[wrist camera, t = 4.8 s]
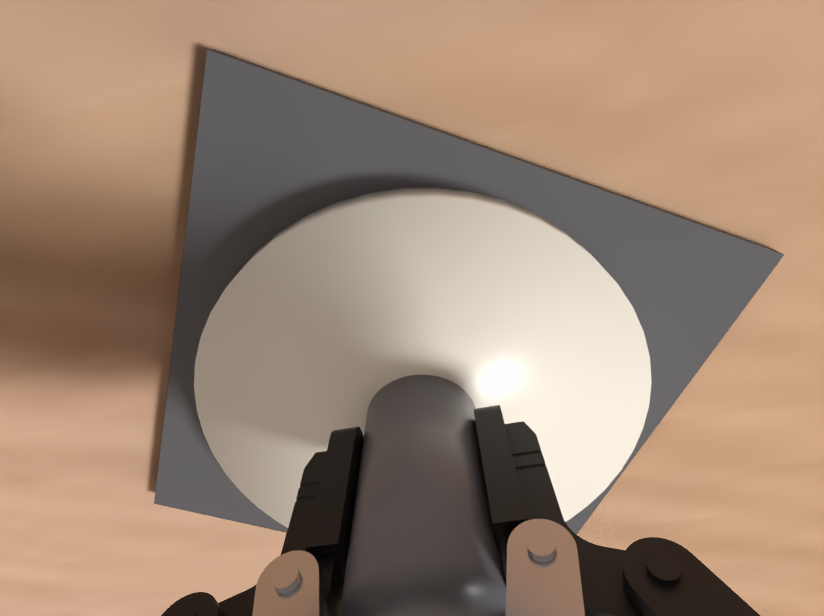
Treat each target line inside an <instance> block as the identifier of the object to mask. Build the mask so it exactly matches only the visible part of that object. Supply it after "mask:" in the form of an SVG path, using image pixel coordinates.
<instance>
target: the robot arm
mask: <svg viewBox="0 0 824 616" xmlns="http://www.w3.org/2000/svg"><path fill="white" fill-rule="evenodd" d="M473 410H474V416H475V422H476V428H477V434H478V440H479V446H480V452H481V458H482V464H483V470H484V476H485V482H486V488H487V494H488V500H489V506H490V512H491V518H492V524H493V529H494V534H495V540H496V545H497V547H498V549H499V551H500V553H501V557H502V561H503V567H504V572H505V578H506V616H760V615H759V614H758V613H757V612H756V611H755V610H753V609H752V608H751V607H750V606H749V605H748V604H747V603H746V602H745V601H743V600H742V599H741V598H740V597H739V596H738V595H737V594H736V593H735V592H734V591H732V590H731V589H730V588H729V587H728V586H727V585H726V584H725V583H724V582H723V581H721V580H720V579H719V578H718V577H717V576H716V575H715V574H714V573H713V572H712V571H710V570H709V569H708V568H707V567H706V566H705V565H704V564H703V563H702V562H701V561H699V560H698V559H697V558H696V557H695V556H694V555H693V554H692V553H690V552H689V551H688V550H687V549H685V548H684V547H682V546H681V545H679V544H677V543H675V542H673V541H670V540H667V539H662V538H654V537H650V538H643V539H639V540H637V541H635V542H633V543H632V544H631V545H630V546H629V547H628V548H627V549H626V551H625V550H619V549H614V548H608V547H602V546H598V545H595V544H592V543H589V542H587V541H585V540H583V539H582V538H580V537H579V536H577V535H576V534H575V533H574V532H573V531H572V530H571V529H570V528H569V527H568V526H567V524H566V522H565V521H564V518H563V516H562V513H561V510H560V507H559V504H558V501H557V498H556V494H555V491H554V488H553V485H552V482H551V479H550V476H549V473H548V470H547V467H546V464H545V460H544V457H543V454H542V452H541V448H540V445H539V442H538V439H537V436H536V434H535V433H534V431H533V430H532V429H531V428H530V427H529V426H528V425H527V424H526V423H525V422H524V421H522V422H515V423H509V424H505V423H504V419H503V415H502V411H501V407H500V405H495V406H489V407H482V408H476V409H473ZM363 439H364V436H363V433H362V431H361V429H360V427H353V428H346V429H340V430H333V431H332V432H331V435H330V439H329V444H328V448H327V451H323V452H316V453H315V454H314V455H313V457H312V458H311V460H310V461H309V462H308V464H307V465H306V467H305V468H304V471H303V475H302V479H301V482H300V488H299V490H298V493H297V497H296V500H297V501H296V502H295V505H294V508H293V512H292V516H291V519H290V523H289V527H288V530H287V534H286V538H285V541H284V545H283V549H282V552H281V555H280V556H279V557H277V558H276V559H274V560H273V561H272V562H271V563H270V564H269V565H268V566H267V567H266V568H265V569H264V571H263V572H262V574H261V575H260V577H259V579H258V582H257V585H255V586H254V587H252V588H250V589H248V590H246V591H244V592H242V593H240V594H237V595H235V596H233V597H231V598H229V599H226V600H224V601H222V602H220V603H217V601H216V600H215V598H214V597H213V596H212V595H210V594H208V593H205V592H197V593H192V594H189V595H187V596H185V597H183V598H181V599H179V600H178V601H176V602H175V603H174V604H172V605H171V606H170V607H169V608H168V609H167V610H166V611H165V612H164V613H163V614H162V615H161V616H341V615H340V608H341V600H342V593H343V585H344V578H345V571H346V563H347V556H348V549H349V541H350V534H351V527H352V519H353V512H354V505H355V497H356V490H357V483H358V475H359V468H360V461H361V453H362V446H363Z"/></svg>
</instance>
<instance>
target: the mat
mask: <svg viewBox="0 0 824 616" xmlns="http://www.w3.org/2000/svg"><path fill="white" fill-rule="evenodd" d="M399 188H445V189H453V190H462V191H471V192H474V193H478V194H482V195H486V196H490V197H494V198H498V199H502V200H505V201H507V202H510V203H512V204H515V205H517V206H520V207H522V208H525V209H527V210H529V211H532V212H534V213H536V214H538V215H539V216H541V217H543V218H544V219H546V220H548V221H550V222H551V223H553V224H555V225H556V226H558V227H560V228H561V229H563V230H564V231H565V232H566V233H568V234H569V235H570V236H571V237H572V238H574V239H575V240H576V241H577V242H579V243H580V244H581V245H582V246H584V247H585V248H586V249H587V251H588V252H589V253H590V254H591V255H592V256H593V257H594V258H595V259H596V260H597V261H598V263H599V264H600V265H601V266H602V267H603V268H604V269H605V270H606V271H607V272H608V273H609V275H610V276H611V277H612V278H613V279H614V280H615V281H616V282H617V283H618V285H619V286H620V288H621V289H622V291H623V293H624V294H625V296H626V297H627V299H628V300H629V302H630V303H631V305H632V306H633V308H634V310H635V313H636V315H637V317H638V320H639V322H640V324H641V327H642V329H643V331H644V335H645V339H646V343H647V347H648V351H649V355H650V365H651V381H652V383H651V393H650V402H649V408H648V412H647V416H646V419H645V423H644V427H643V430H642V432H641V434H640V437H639V439H638V441H637V444H636V446H635V448H634V450H633V452H632V454H631V455H630V457H629V458H628V460H627V462H626V463H625V465H624V466H623V468H622V470H621V471H620V472H619V474H618V475H617V476H616V477H615V478H614V480H613V481H612V482H611V483H610V484H609V486H608V487H607V488H606V489H605V490H604V491H603V492H602V493H601V494H600V495H599V496H598V497H597V498H596V499H595V500H594V501H593V502H591V503H590V504H589V505H588V506H587V507H586V508H584V509H583V510H582V511H580V512H579V513H578V514H576V515H575V516H574V517H572V518H571V519H570V520H568V521H566V524H567V526H568V527H569V528H570V529H571V530H572V531H573V532H574V533H575V534H576V535H577V533H578V532H579V531H580V529H581V528H582V527H583V525H584V524H585V523H586V521H587V520H588V518H589V517H590V516H591V514H592V513H593V512H594V510H595V509H596V508H597V506H598V505H599V504H600V502H601V501H602V500H603V498H604V497H605V496H606V494H607V493H608V491H609V490H610V489H611V487H612V486H613V485H614V483H615V482H616V481H617V479H618V478H619V477H620V475H621V474H622V473H623V471H624V470H625V469H626V467H627V466H628V465H629V463H630V462H631V460H632V459H633V458H634V456H635V455H636V454H637V452H638V451H639V450H640V448H641V447H642V446H643V444H644V443H645V442H646V440H647V439H648V438H649V436H650V435H651V434H652V432H653V431H654V429H655V428H656V427H657V425H658V424H659V423H660V421H661V420H662V419H663V417H664V416H665V415H666V413H667V412H668V411H669V409H670V408H671V407H672V405H673V404H674V403H675V401H676V400H677V398H678V397H679V396H680V394H681V393H682V392H683V390H684V389H685V388H686V386H687V385H688V384H689V382H690V381H691V380H692V378H693V377H694V376H695V374H696V373H697V372H698V370H699V369H700V367H701V366H702V365H703V363H704V362H705V361H706V359H707V358H708V357H709V355H710V354H711V353H712V351H713V350H714V349H715V347H716V346H717V345H718V343H719V342H720V340H721V339H722V338H723V336H724V335H725V334H726V332H727V331H728V330H729V328H730V327H731V326H732V324H733V323H734V322H735V320H736V319H737V318H738V316H739V315H740V314H741V312H742V311H743V309H744V308H745V307H746V305H747V304H748V303H749V301H750V300H751V299H752V297H753V296H754V295H755V293H756V292H757V291H758V289H759V288H760V287H761V285H762V284H763V283H764V281H765V280H766V278H767V277H768V276H769V274H770V273H771V272H772V270H773V269H774V268H775V266H776V265H777V264H778V262H779V261H780V260H781V258H782V257H783V256H784V255H783V254H782V253H780V252H778V251H776V250H774V249H771V248H768V247H766V246H763V245H760V244H757V243H754V242H752V241H749V240H746V239H743V238H740V237H738V236H735V235H732V234H729V233H726V232H724V231H721V230H718V229H715V228H712V227H710V226H707V225H704V224H701V223H698V222H695V221H693V220H690V219H687V218H684V217H681V216H679V215H676V214H673V213H670V212H667V211H665V210H662V209H659V208H656V207H653V206H651V205H648V204H645V203H642V202H639V201H637V200H634V199H631V198H628V197H625V196H623V195H620V194H617V193H614V192H611V191H609V190H606V189H603V188H600V187H597V186H595V185H592V184H589V183H586V182H583V181H581V180H578V179H575V178H572V177H569V176H567V175H564V174H561V173H558V172H555V171H552V170H550V169H547V168H544V167H541V166H538V165H536V164H533V163H530V162H527V161H524V160H522V159H519V158H516V157H513V156H510V155H508V154H505V153H502V152H499V151H496V150H494V149H491V148H488V147H485V146H482V145H480V144H477V143H474V142H471V141H468V140H466V139H463V138H460V137H457V136H454V135H452V134H449V133H446V132H443V131H440V130H438V129H435V128H432V127H429V126H426V125H424V124H421V123H418V122H415V121H412V120H410V119H407V118H404V117H401V116H398V115H395V114H393V113H390V112H387V111H384V110H381V109H379V108H376V107H373V106H370V105H367V104H365V103H362V102H359V101H356V100H353V99H351V98H348V97H345V96H342V95H339V94H337V93H334V92H331V91H328V90H325V89H323V88H320V87H317V86H314V85H311V84H309V83H306V82H303V81H300V80H297V79H295V78H292V77H289V76H286V75H283V74H281V73H278V72H275V71H272V70H269V69H267V68H264V67H261V66H258V65H255V64H253V63H250V62H247V61H244V60H241V59H238V58H236V57H233V56H230V55H227V54H224V53H222V52H219V51H216V50H209V49H207V54H206V63H205V72H204V80H203V89H202V97H201V106H200V114H199V123H198V132H197V140H196V149H195V157H194V166H193V174H192V183H191V192H190V200H189V209H188V217H187V226H186V234H185V243H184V252H183V260H182V269H181V277H180V286H179V294H178V303H177V312H176V320H175V329H174V337H173V346H172V354H171V363H170V372H169V380H168V389H167V397H166V406H165V414H164V423H163V432H162V440H161V449H160V457H159V466H158V474H157V483H156V492H155V500H154V504H159V505H163V506H168V507H172V508H177V509H182V510H186V511H191V512H195V513H200V514H204V515H209V516H213V517H218V518H223V519H227V520H232V521H236V522H241V523H245V524H250V525H254V526H259V527H264V528H268V529H273V530H277V531H282V532H286V533H287V530H288V528H287V527H285V526H284V525H282V524H280V523H279V522H277V521H275V520H274V519H273V518H271V517H270V516H269V515H267V514H266V513H265V512H263V511H262V510H261V509H259V508H258V507H257V506H256V505H255V504H254V503H252V502H251V501H250V500H249V499H248V498H247V497H246V496H245V495H244V494H243V493H242V492H241V491H240V490H239V489H238V488H237V487H236V486H235V484H234V483H233V482H232V481H231V480H230V478H229V477H228V476H227V475H226V474H225V472H224V471H223V469H222V467H221V466H220V464H219V463H218V461H217V460H216V458H215V457H214V455H213V453H212V451H211V449H210V447H209V444H208V442H207V440H206V438H205V436H204V434H203V430H202V427H201V423H200V420H199V416H198V413H197V408H196V400H195V392H194V374H195V360H196V355H197V351H198V346H199V342H200V337H201V335H202V332H203V330H204V327H205V325H206V322H207V320H208V318H209V315H210V313H211V311H212V309H213V308H214V306H215V304H216V303H217V301H218V300H219V298H220V296H221V295H222V293H223V291H224V290H225V288H226V287H227V286H228V285H229V283H230V282H231V281H232V280H233V279H234V277H235V276H236V275H237V274H238V273H239V272H240V270H241V269H242V268H243V267H244V266H245V265H246V263H247V262H248V261H249V260H250V259H251V258H252V257H253V255H254V254H255V253H256V252H257V251H258V250H259V249H260V248H262V247H263V246H264V245H265V244H266V243H267V242H269V241H270V240H271V239H272V238H273V237H274V236H276V235H277V234H278V233H279V232H281V231H282V230H284V229H285V228H287V227H289V226H290V225H292V224H293V223H295V222H297V221H298V220H300V219H301V218H303V217H305V216H306V215H308V214H311V213H313V212H315V211H318V210H320V209H322V208H324V207H327V206H329V205H331V204H333V203H336V202H339V201H342V200H346V199H349V198H353V197H356V196H360V195H363V194H367V193H372V192H379V191H386V190H392V189H399Z"/></svg>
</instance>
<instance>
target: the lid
mask: <svg viewBox="0 0 824 616" xmlns="http://www.w3.org/2000/svg"><path fill="white" fill-rule="evenodd" d="M651 383H652V381H651V365H650V355H649V351H648V347H647V343H646V339H645V335H644V331H643V329H642V327H641V324H640V322H639V320H638V317H637V315H636V313H635V310H634V308H633V306H632V305H631V303H630V302H629V300H628V299H627V297H626V296H625V294H624V293H623V291H622V289H621V288H620V286H619V285H618V283H617V282H616V281H615V280H614V279H613V278H612V277H611V276H610V275H609V273H608V272H607V271H606V270H605V269H604V268H603V267H602V266H601V265H600V264H599V263H598V261H597V260H596V259H595V258H594V257H593V256H592V255H591V254H590V253H589V252H588V251H587V249H586V248H585V247H584V246H582V245H581V244H580V243H579V242H577V241H576V240H575V239H574V238H572V237H571V236H570V235H569V234H568V233H566V232H565V231H564V230H563V229H561V228H560V227H558V226H556V225H555V224H553V223H551V222H550V221H548V220H546V219H544V218H543V217H541V216H539V215H538V214H536V213H534V212H532V211H529V210H527V209H525V208H522V207H520V206H517V205H515V204H512V203H510V202H507V201H505V200H502V199H498V198H494V197H490V196H486V195H482V194H478V193H474V192H471V191H462V190H453V189H445V188H399V189H392V190H386V191H379V192H372V193H367V194H363V195H360V196H356V197H353V198H349V199H346V200H342V201H339V202H336V203H333V204H331V205H329V206H327V207H324V208H322V209H320V210H318V211H315V212H313V213H311V214H308V215H306V216H305V217H303V218H301V219H300V220H298V221H297V222H295V223H293V224H292V225H290V226H289V227H287V228H285V229H284V230H282V231H281V232H279V233H278V234H277V235H276V236H274V237H273V238H272V239H271V240H270V241H269V242H267V243H266V244H265V245H264V246H263V247H262V248H260V249H259V250H258V251H257V252H256V253H255V254H254V255H253V257H252V258H251V259H250V260H249V261H248V262H247V263H246V265H245V266H244V267H243V268H242V269H241V270H240V272H239V273H238V274H237V275H236V276H235V277H234V279H233V280H232V281H231V282H230V283H229V285H228V286H227V287H226V288H225V290H224V291H223V293H222V295H221V296H220V298H219V300H218V301H217V303H216V304H215V306H214V308H213V309H212V311H211V313H210V315H209V318H208V320H207V322H206V325H205V327H204V330H203V332H202V335H201V337H200V342H199V346H198V351H197V355H196V360H195V374H194V392H195V400H196V408H197V413H198V416H199V420H200V423H201V427H202V430H203V434H204V436H205V438H206V440H207V442H208V444H209V447H210V449H211V451H212V453H213V455H214V457H215V458H216V460H217V461H218V463H219V464H220V466H221V467H222V469H223V471H224V472H225V474H226V475H227V476H228V477H229V478H230V480H231V481H232V482H233V483H234V484H235V486H236V487H237V488H238V489H239V490H240V491H241V492H242V493H243V494H244V495H245V496H246V497H247V498H248V499H249V500H250V501H251V502H252V503H254V504H255V505H256V506H257V507H258V508H259V509H261V510H262V511H263V512H265V513H266V514H267V515H269V516H270V517H271V518H273V519H274V520H275V521H277V522H279V523H280V524H282V525H284V526H285V527H287V528H288V527H289V523H290V519H291V516H292V512H293V508H294V505H295V502H296V501H297V500H296V497H297V493H298V490H299V488H300V482H301V479H302V475H303V471H304V468H305V467H306V465H307V464H308V462H309V461H310V460H311V458H312V457H313V455H314V454H315V453H316V452H323V451H327V448H328V444H329V439H330V435H331V432H332V431H333V430H340V429H346V428H353V427H360V429H361V431H362V433H363V436H364V439H363V446H362V453H361V461H360V468H359V475H358V483H357V490H356V497H355V505H354V512H353V519H352V527H351V534H350V541H349V549H348V556H347V563H346V571H345V578H344V585H343V593H342V600H341V608H340V615H341V616H506V578H505V572H504V567H503V561H502V557H501V553H500V551H499V549H498V547H497V545H496V540H495V534H494V529H493V524H492V518H491V512H490V506H489V500H488V494H487V488H486V482H485V476H484V470H483V464H482V458H481V452H480V446H479V440H478V434H477V428H476V422H475V416H474V410H473V409H476V408H482V407H489V406H495V405H500V407H501V411H502V415H503V419H504V423H505V424H509V423H515V422H522V421H524V422H525V423H526V424H527V425H528V426H529V427H530V428H531V429H532V430H533V431H534V433H535V434H536V436H537V439H538V442H539V445H540V448H541V452H542V454H543V457H544V460H545V464H546V467H547V470H548V473H549V476H550V479H551V482H552V485H553V488H554V491H555V494H556V498H557V501H558V504H559V507H560V510H561V513H562V516H563V518H564V521H565V522H566V521H568V520H570V519H571V518H572V517H574V516H575V515H576V514H578V513H579V512H580V511H582V510H583V509H584V508H586V507H587V506H588V505H589V504H590V503H591V502H593V501H594V500H595V499H596V498H597V497H598V496H599V495H600V494H601V493H602V492H603V491H604V490H605V489H606V488H607V487H608V486H609V484H610V483H611V482H612V481H613V480H614V478H615V477H616V476H617V475H618V474H619V472H620V471H621V470H622V468H623V466H624V465H625V463H626V462H627V460H628V458H629V457H630V455H631V454H632V452H633V450H634V448H635V446H636V444H637V441H638V439H639V437H640V434H641V432H642V430H643V427H644V423H645V419H646V416H647V412H648V408H649V402H650V393H651Z"/></svg>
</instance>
